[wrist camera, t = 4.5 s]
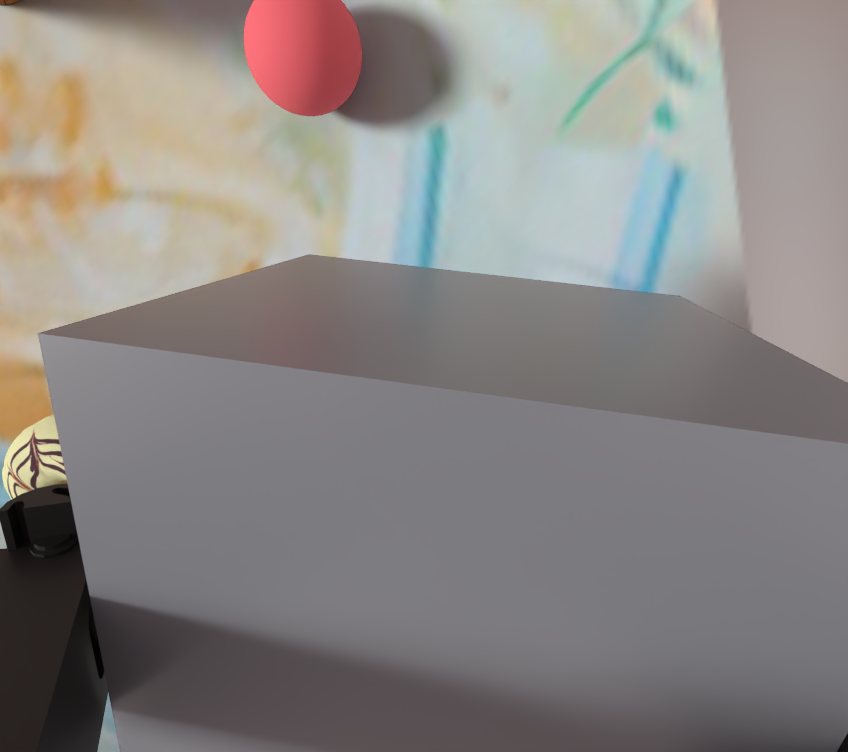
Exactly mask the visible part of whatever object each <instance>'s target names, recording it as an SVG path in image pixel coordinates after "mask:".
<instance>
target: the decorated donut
mask: <svg viewBox="0 0 848 752" xmlns="http://www.w3.org/2000/svg"><path fill="white" fill-rule="evenodd" d="M2 476H3V482H4V486H5V489H6V490H7V492H8V494H9V496H10V498H11V500H12V499H14V498H15V497H17V496H19V495H20V494H23V493H26V492H28V491H31V490H34V489H36V488H40V487H45V486H50V485H55V484H67V478H66V473H65V468H64V463H63V458H62V453H61V448H60V443H59V438H58V433H57V428H56V423H55V417H54V415H51V416H48V417H46V418H44V419H42V420H40V421H38V422H37V423H35V424H34V425H32V426H30V427H28V428H26V429H25V430H24V431H23V432H22V433H21V434H20V435H19V436H18V437H17V438H16V439H15V440H14V442H13V443H12V445H11V446H10V447H9V449H8V451H7V454H6V456H5V460H4V467H3V471H2Z"/></svg>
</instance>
